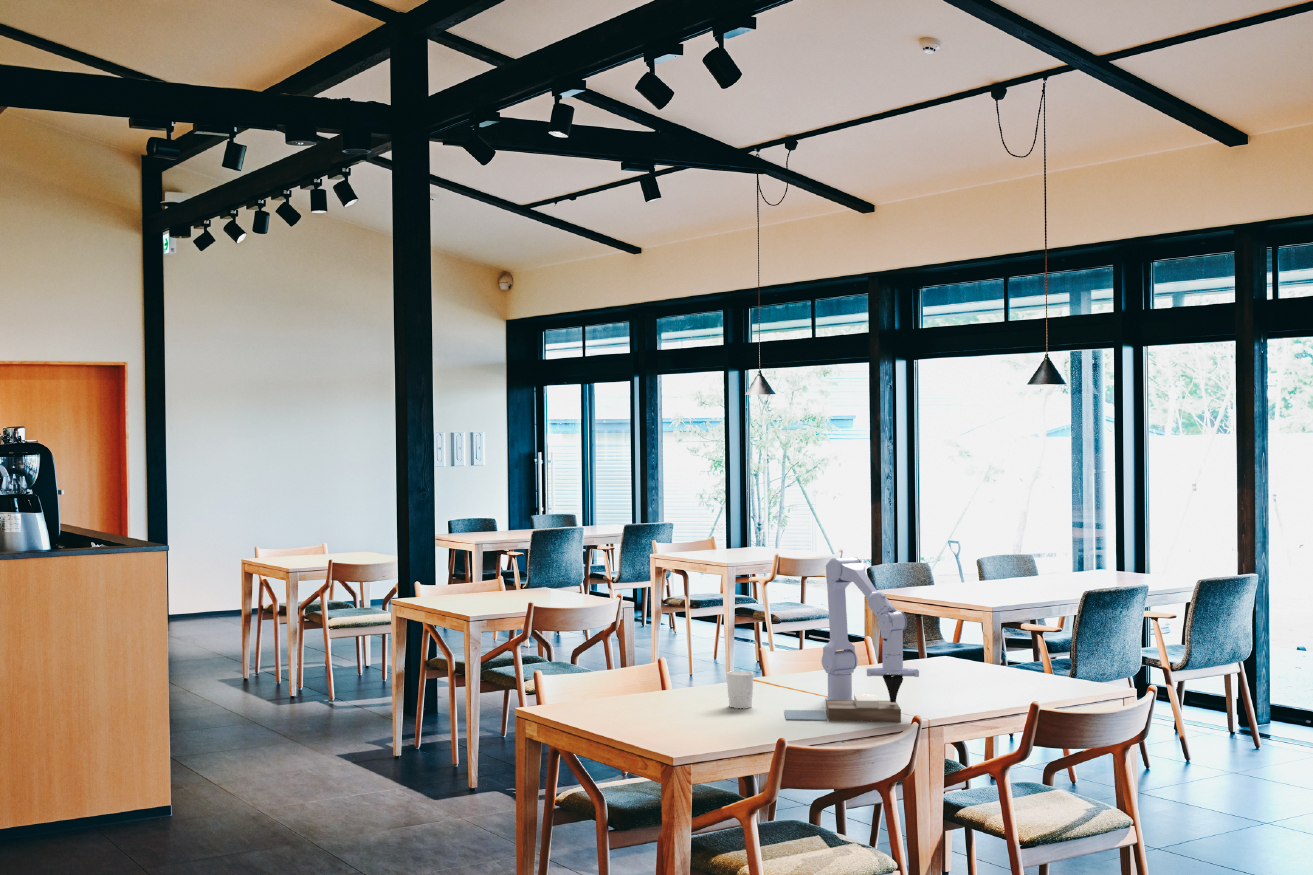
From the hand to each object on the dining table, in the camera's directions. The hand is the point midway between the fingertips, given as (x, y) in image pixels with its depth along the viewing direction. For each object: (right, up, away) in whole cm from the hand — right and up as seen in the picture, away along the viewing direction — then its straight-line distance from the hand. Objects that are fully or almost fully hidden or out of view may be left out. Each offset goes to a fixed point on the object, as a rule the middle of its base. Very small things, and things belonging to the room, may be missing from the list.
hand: (892, 701), depth 332 cm
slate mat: (-25, -5, +2) cm, 25 cm away
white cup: (-42, -5, +15) cm, 45 cm away
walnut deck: (-9, -4, +1) cm, 10 cm away
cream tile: (-8, -1, +1) cm, 8 cm away
